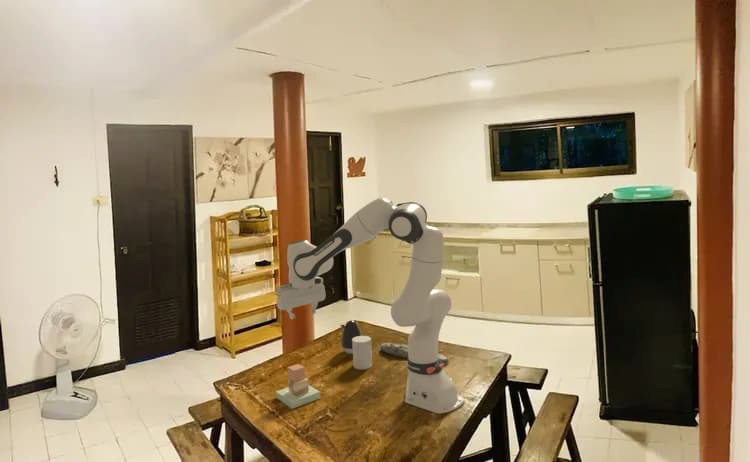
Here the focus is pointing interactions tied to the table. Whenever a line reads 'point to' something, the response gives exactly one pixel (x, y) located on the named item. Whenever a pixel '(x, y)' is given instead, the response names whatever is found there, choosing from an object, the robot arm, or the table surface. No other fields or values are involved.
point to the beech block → (298, 387)
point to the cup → (362, 352)
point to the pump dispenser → (349, 335)
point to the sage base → (299, 400)
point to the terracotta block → (296, 372)
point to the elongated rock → (404, 351)
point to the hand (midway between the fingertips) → (303, 316)
